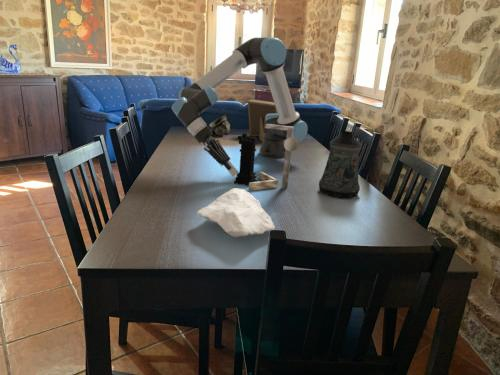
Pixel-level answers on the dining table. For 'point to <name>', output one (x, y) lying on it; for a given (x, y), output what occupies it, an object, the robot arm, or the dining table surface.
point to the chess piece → (247, 160)
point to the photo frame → (259, 116)
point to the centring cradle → (289, 146)
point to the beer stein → (342, 168)
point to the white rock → (238, 214)
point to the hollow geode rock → (220, 126)
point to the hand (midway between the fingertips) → (235, 174)
